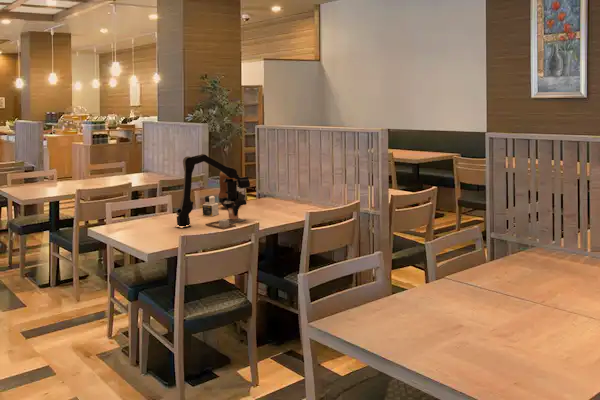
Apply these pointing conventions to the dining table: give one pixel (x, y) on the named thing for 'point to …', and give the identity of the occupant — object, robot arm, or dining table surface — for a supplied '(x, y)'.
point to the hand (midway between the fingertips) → (233, 215)
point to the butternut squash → (223, 186)
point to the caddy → (220, 226)
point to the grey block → (223, 222)
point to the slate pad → (236, 220)
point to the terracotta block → (232, 214)
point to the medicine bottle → (210, 206)
